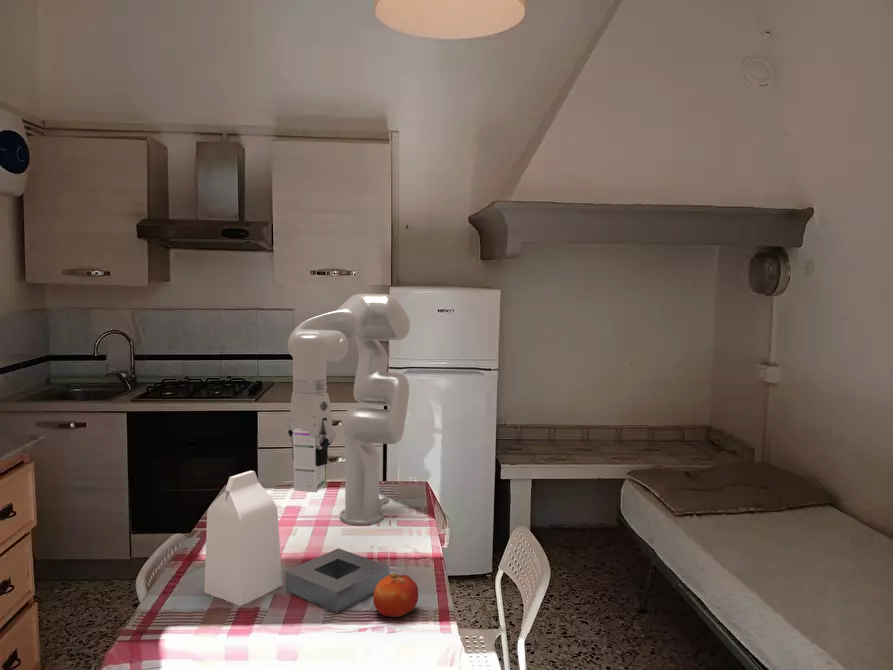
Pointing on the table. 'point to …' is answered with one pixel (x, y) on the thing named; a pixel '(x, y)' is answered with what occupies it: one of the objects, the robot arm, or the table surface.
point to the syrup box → (306, 463)
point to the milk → (242, 542)
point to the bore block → (325, 589)
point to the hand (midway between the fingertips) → (309, 461)
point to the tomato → (395, 595)
